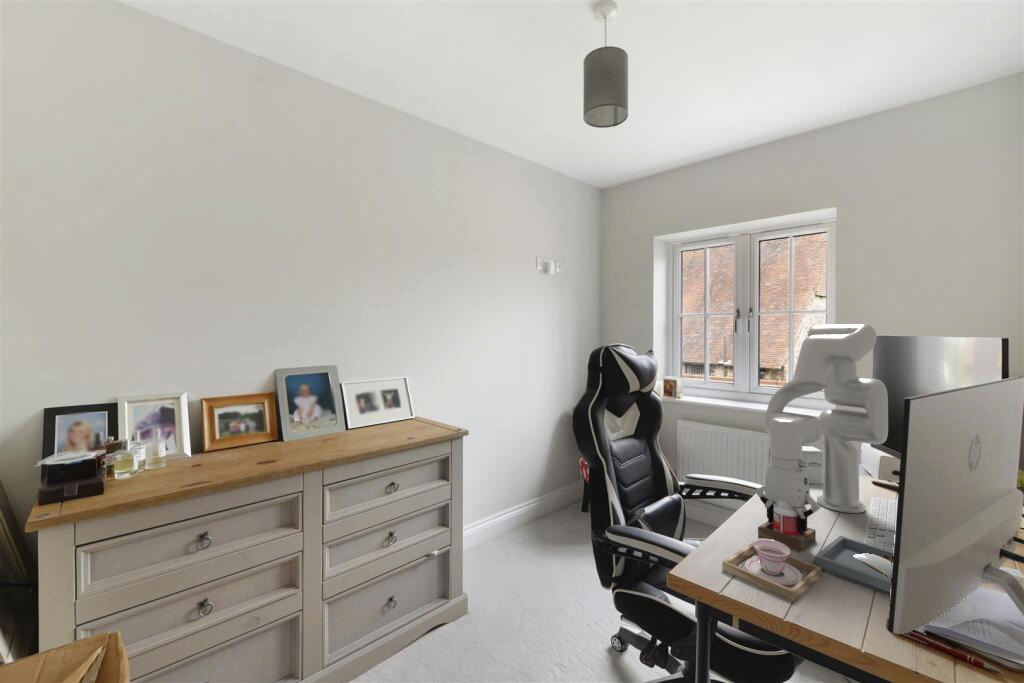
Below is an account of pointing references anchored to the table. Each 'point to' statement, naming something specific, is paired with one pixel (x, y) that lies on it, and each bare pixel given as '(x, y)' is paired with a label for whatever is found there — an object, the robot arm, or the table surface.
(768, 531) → the walnut collar
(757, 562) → the teacup
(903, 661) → the table surface
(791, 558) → the light wooden frame
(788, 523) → the pill bottle
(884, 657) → the table surface
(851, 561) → the slate tray
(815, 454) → the supplement box
